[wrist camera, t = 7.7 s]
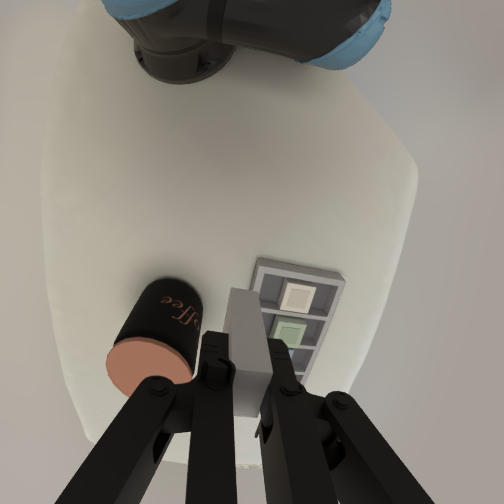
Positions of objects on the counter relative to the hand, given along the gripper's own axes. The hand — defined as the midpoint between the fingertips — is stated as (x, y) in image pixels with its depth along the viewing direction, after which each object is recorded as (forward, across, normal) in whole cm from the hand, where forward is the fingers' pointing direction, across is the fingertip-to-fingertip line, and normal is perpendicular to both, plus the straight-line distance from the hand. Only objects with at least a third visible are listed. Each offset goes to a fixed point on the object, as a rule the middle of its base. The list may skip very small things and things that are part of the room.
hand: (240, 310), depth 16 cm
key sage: (+25, +12, -17) cm, 32 cm away
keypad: (+28, +11, -20) cm, 36 cm away
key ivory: (+27, +12, -11) cm, 31 cm away
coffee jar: (+28, -8, -17) cm, 34 cm away
